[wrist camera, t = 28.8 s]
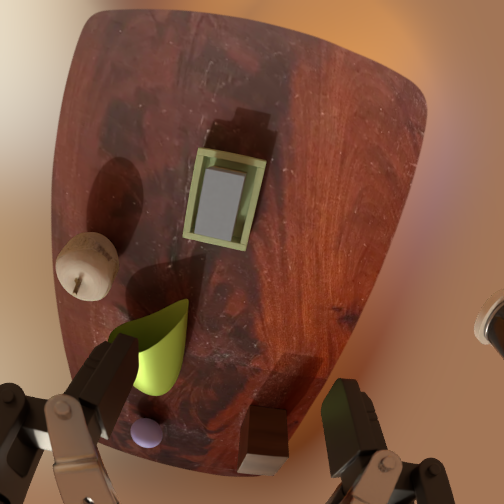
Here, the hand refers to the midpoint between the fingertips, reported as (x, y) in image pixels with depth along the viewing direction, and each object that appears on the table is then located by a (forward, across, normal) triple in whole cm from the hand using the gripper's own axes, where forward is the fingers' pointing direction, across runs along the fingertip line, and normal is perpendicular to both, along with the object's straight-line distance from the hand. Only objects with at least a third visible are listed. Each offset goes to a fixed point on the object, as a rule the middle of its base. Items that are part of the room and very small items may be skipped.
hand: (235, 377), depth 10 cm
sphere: (+26, +12, +49) cm, 57 cm away
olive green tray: (+26, +4, -2) cm, 26 cm away
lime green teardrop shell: (+26, +10, +23) cm, 36 cm away
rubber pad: (+23, +4, -2) cm, 23 cm away
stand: (+26, -11, +39) cm, 48 cm away
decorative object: (+26, +20, +10) cm, 34 cm away
